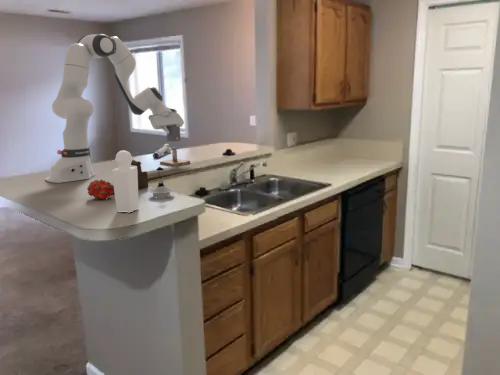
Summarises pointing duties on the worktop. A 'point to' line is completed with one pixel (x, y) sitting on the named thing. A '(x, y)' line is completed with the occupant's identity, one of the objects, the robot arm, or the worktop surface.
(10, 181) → the worktop surface
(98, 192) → the dragon fruit
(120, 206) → the white bottle
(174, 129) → the dark grey box
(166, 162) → the post plate
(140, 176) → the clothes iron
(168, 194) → the grey knobbed stem base
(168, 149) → the grey dark-ended cylinder
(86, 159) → the robot arm
